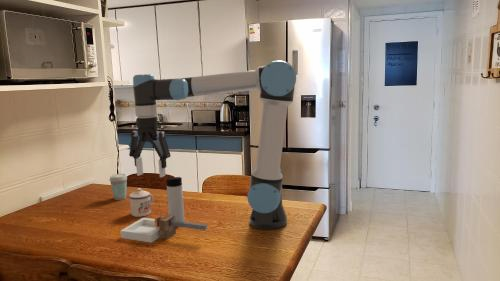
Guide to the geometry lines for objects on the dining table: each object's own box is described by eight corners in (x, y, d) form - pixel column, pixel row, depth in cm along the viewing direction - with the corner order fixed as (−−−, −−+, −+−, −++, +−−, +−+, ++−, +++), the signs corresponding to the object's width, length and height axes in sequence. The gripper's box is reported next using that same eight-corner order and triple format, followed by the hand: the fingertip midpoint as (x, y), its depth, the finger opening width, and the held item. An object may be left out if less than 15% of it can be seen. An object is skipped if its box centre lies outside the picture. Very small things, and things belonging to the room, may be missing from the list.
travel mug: (170, 227, 157) (166, 179, 153) (168, 221, 163) (165, 175, 160) (185, 225, 158) (182, 178, 155) (183, 219, 165) (180, 174, 161)
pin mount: (175, 233, 151) (174, 215, 149) (167, 239, 145) (165, 220, 144) (168, 232, 152) (167, 214, 150) (160, 238, 146) (158, 219, 145)
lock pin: (208, 230, 143) (208, 220, 143) (204, 233, 140) (203, 224, 139) (160, 223, 151) (160, 215, 150) (155, 227, 148) (154, 218, 147)
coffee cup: (111, 197, 200) (109, 174, 198) (128, 195, 203) (126, 172, 200) (111, 202, 192) (108, 178, 190) (129, 199, 194) (126, 176, 192)
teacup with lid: (140, 218, 168) (138, 192, 166) (126, 215, 173) (124, 190, 171) (160, 210, 178) (158, 185, 176) (147, 207, 183) (145, 183, 181)
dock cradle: (172, 228, 156) (172, 221, 155) (151, 242, 143) (151, 235, 142) (143, 224, 161) (143, 217, 160) (121, 238, 148) (120, 230, 148)
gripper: (177, 115, 142) (181, 174, 146) (128, 115, 150) (133, 171, 154) (166, 118, 135) (170, 180, 139) (115, 117, 143) (121, 176, 147)
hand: (151, 175), depth 146 cm, fingers open, 9 cm apart
